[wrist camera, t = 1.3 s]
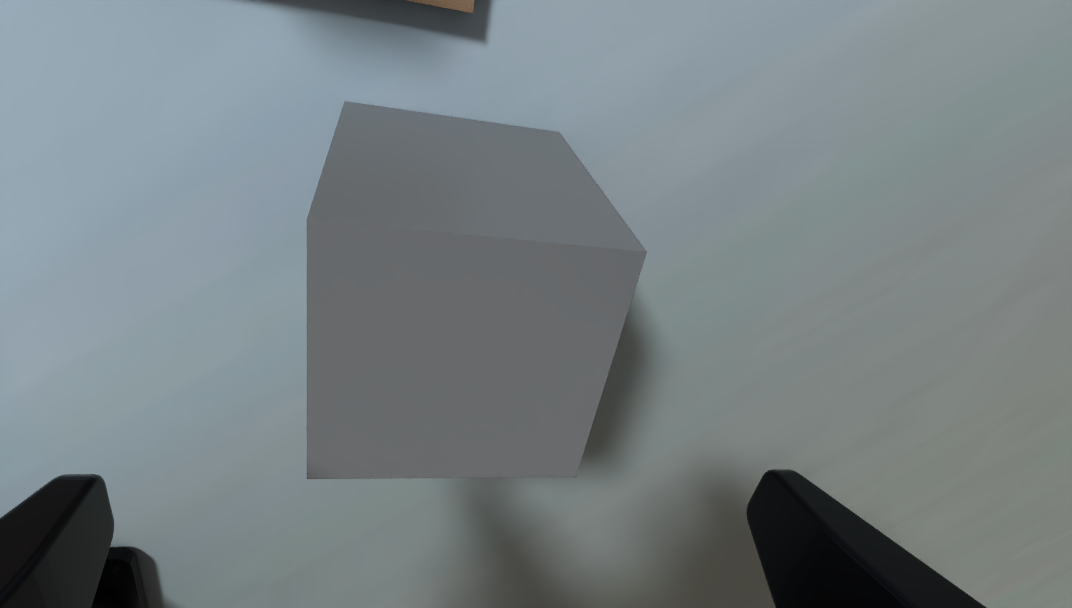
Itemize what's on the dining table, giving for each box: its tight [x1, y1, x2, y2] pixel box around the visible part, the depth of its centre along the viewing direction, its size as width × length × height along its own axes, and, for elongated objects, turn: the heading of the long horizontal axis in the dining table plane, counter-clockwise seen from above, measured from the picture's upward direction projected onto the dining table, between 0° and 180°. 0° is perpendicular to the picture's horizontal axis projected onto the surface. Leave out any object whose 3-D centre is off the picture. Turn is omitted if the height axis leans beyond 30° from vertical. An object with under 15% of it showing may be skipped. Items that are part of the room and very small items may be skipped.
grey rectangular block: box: [307, 102, 647, 479], centre depth 13 cm, size 5×5×7 cm
